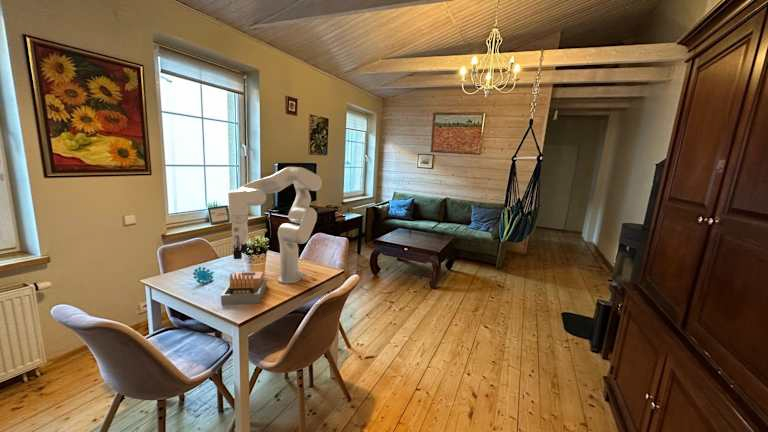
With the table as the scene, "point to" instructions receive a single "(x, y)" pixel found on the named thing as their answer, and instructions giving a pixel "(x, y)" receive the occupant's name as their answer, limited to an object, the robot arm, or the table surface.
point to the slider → (256, 277)
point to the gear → (203, 275)
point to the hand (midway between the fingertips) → (240, 255)
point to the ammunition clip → (241, 284)
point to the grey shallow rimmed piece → (243, 296)
